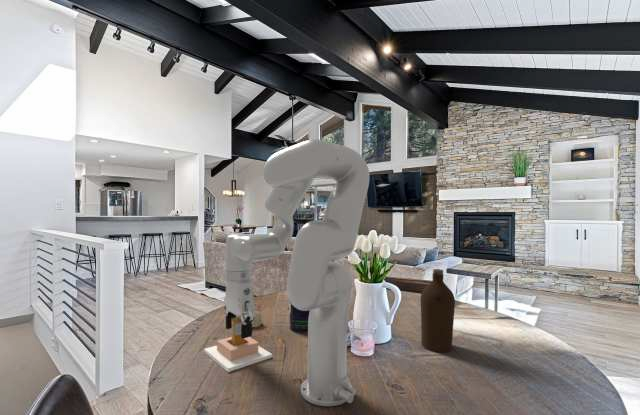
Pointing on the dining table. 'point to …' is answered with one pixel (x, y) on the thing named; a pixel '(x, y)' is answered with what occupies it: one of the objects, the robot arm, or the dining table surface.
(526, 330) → the dining table surface
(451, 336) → the olive oil
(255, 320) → the decorative ornament
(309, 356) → the robot arm
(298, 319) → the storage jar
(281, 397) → the dining table surface
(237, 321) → the supplement box
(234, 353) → the socket holder
